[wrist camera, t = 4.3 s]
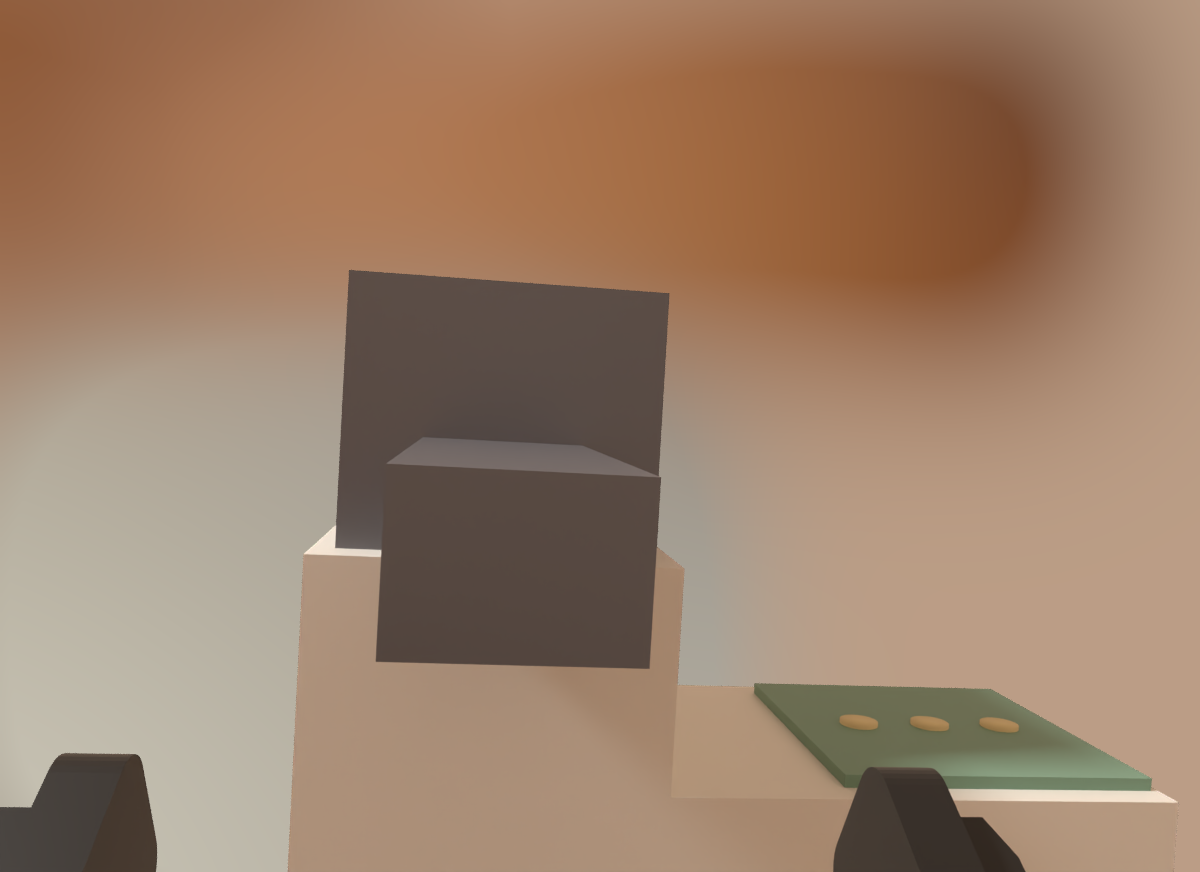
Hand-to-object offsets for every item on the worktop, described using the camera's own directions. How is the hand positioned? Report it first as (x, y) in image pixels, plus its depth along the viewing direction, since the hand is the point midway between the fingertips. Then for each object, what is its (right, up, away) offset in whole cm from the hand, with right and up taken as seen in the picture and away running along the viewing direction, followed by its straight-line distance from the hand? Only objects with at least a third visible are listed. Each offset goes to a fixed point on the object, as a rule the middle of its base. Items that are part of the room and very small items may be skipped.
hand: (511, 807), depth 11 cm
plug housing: (-1, +2, +10) cm, 10 cm away
